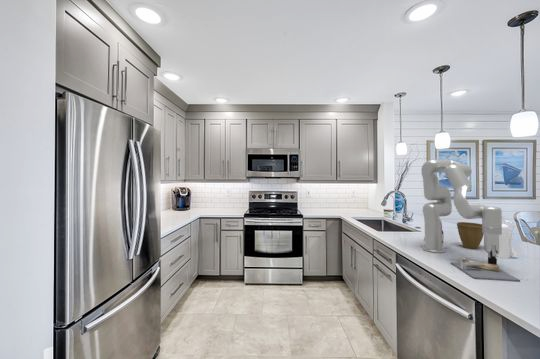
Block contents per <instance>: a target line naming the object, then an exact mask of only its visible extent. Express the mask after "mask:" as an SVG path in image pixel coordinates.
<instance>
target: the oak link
mask: <svg viewBox="0 0 540 359" xmlns="http://www.w3.org/2000/svg"><path fill="white" fill-rule="evenodd" d="M460 261H463V262H477V261H474V260H468V258H467V257H462V259H461V258H460ZM479 262H480V263H482V264H483V266H481V265H466V266H470V267H476V268H482V269H488V270H494V271H499V269H500V265H499V264H497V265H495V264H488V262H481V261H479ZM459 263H460V262H459ZM460 264H461V263H460Z"/></svg>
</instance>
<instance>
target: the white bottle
mask: <svg viewBox="0 0 540 359" xmlns="http://www.w3.org/2000/svg"><path fill="white" fill-rule="evenodd" d="M505 222H506V223H509V224H510V227H509V225H508V224H505ZM514 228H515V227H514V222H513V221H510V220H507V219H506V217H505V215H502V235H499V254H497V256H496V258H499V259H510V256H511V257H513V258H516V257H518V256H519V255H518V253H517V251H516V250H515V249H514V248H513V246H512V239H513V238H512V237H513V231H514Z"/></svg>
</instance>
